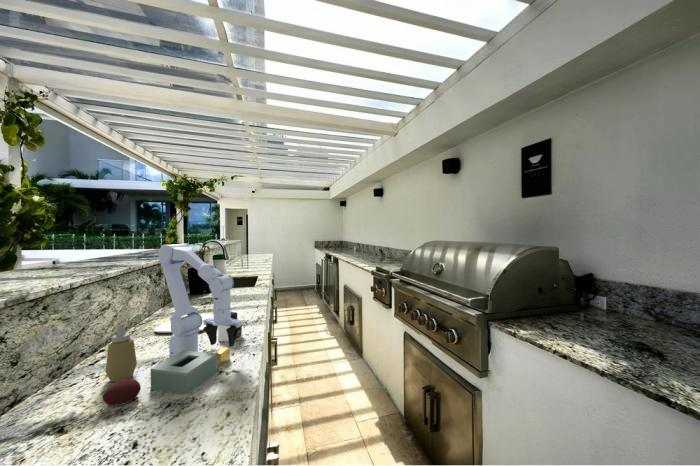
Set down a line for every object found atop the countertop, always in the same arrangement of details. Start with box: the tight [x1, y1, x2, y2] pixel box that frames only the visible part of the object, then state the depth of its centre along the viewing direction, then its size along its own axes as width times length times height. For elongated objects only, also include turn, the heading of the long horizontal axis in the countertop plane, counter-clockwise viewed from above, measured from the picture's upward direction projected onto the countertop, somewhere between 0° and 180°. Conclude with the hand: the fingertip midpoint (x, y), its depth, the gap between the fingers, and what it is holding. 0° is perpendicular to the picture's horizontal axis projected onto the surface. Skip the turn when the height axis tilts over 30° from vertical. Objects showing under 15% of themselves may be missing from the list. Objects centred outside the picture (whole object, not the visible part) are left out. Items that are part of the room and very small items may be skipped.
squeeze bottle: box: [105, 323, 138, 383], centre depth 91 cm, size 8×8×18 cm
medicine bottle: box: [217, 310, 243, 343], centre depth 123 cm, size 7×7×12 cm
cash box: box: [150, 350, 218, 395], centre depth 89 cm, size 13×13×6 cm
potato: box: [102, 378, 141, 406], centre depth 78 cm, size 7×8×6 cm
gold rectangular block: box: [214, 346, 231, 367], centre depth 101 cm, size 2×5×4 cm, turn 168°
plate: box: [153, 314, 214, 334], centre depth 140 cm, size 25×25×2 cm
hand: (222, 344), depth 101 cm, fingers open, 7 cm apart
